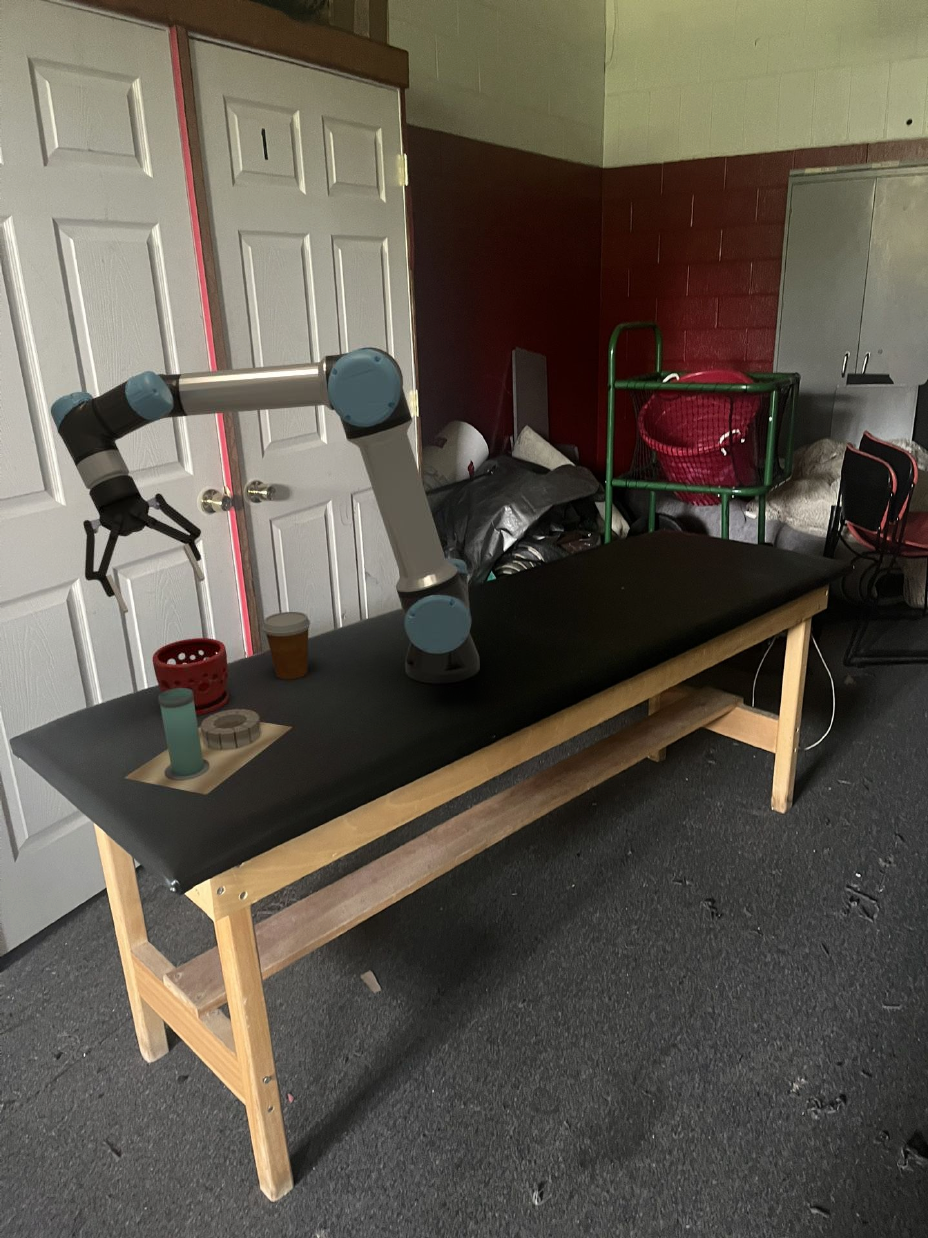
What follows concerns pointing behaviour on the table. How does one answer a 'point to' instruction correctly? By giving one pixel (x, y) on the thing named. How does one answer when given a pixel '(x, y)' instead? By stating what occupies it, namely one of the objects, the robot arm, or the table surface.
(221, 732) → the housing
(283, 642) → the disposable coffee cup
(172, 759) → the teal cylindrical container
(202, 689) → the plant pot
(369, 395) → the robot arm
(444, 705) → the table surface
